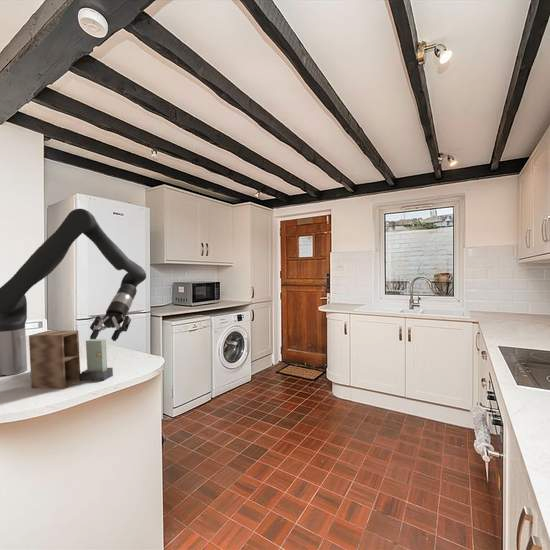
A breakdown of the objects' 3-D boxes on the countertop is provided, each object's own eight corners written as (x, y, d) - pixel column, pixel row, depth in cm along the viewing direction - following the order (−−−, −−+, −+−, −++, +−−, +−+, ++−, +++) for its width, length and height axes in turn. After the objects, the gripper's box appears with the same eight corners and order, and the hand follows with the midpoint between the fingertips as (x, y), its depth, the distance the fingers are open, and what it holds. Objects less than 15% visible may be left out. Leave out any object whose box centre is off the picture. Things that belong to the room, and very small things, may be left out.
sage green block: (85, 380, 111) (83, 341, 110) (92, 376, 114) (90, 339, 114) (101, 380, 110) (99, 341, 110) (107, 376, 113) (105, 339, 113)
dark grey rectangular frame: (79, 380, 110) (79, 372, 110) (89, 375, 115) (89, 367, 115) (103, 380, 109) (103, 372, 109) (112, 375, 114) (112, 367, 114)
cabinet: (31, 388, 104) (28, 335, 104) (50, 380, 112) (47, 330, 112) (64, 388, 103) (61, 335, 103) (80, 380, 111) (78, 330, 110)
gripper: (99, 300, 125) (79, 334, 114) (132, 300, 124) (115, 334, 112) (108, 311, 130) (90, 345, 119) (140, 311, 129) (124, 345, 118)
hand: (102, 339), depth 116 cm, fingers open, 8 cm apart
